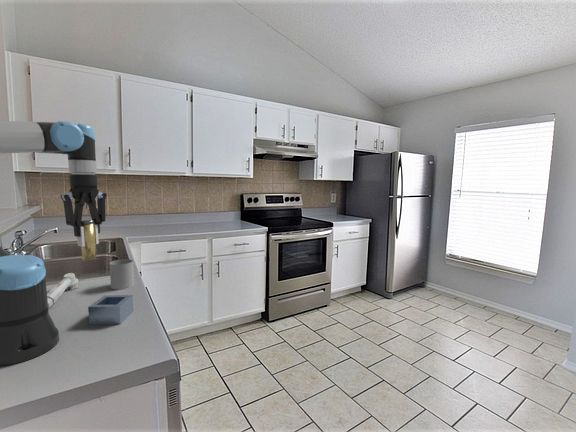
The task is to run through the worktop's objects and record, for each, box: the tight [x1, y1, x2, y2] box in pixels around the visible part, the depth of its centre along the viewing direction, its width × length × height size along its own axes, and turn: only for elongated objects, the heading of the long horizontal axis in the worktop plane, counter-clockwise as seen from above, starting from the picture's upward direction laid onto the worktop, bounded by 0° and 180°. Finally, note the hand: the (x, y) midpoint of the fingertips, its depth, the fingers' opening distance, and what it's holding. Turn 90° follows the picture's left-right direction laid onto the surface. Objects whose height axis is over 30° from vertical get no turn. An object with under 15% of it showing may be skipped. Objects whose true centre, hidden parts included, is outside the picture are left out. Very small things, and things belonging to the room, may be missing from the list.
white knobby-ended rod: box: [47, 272, 79, 310], centre depth 111 cm, size 5×7×25 cm
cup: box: [109, 258, 135, 290], centre depth 123 cm, size 8×8×10 cm
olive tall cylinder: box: [80, 219, 97, 261], centre depth 101 cm, size 4×4×13 cm
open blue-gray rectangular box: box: [87, 294, 134, 326], centre depth 95 cm, size 9×9×6 cm
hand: (88, 244), depth 101 cm, fingers closed on olive tall cylinder, 4 cm apart
